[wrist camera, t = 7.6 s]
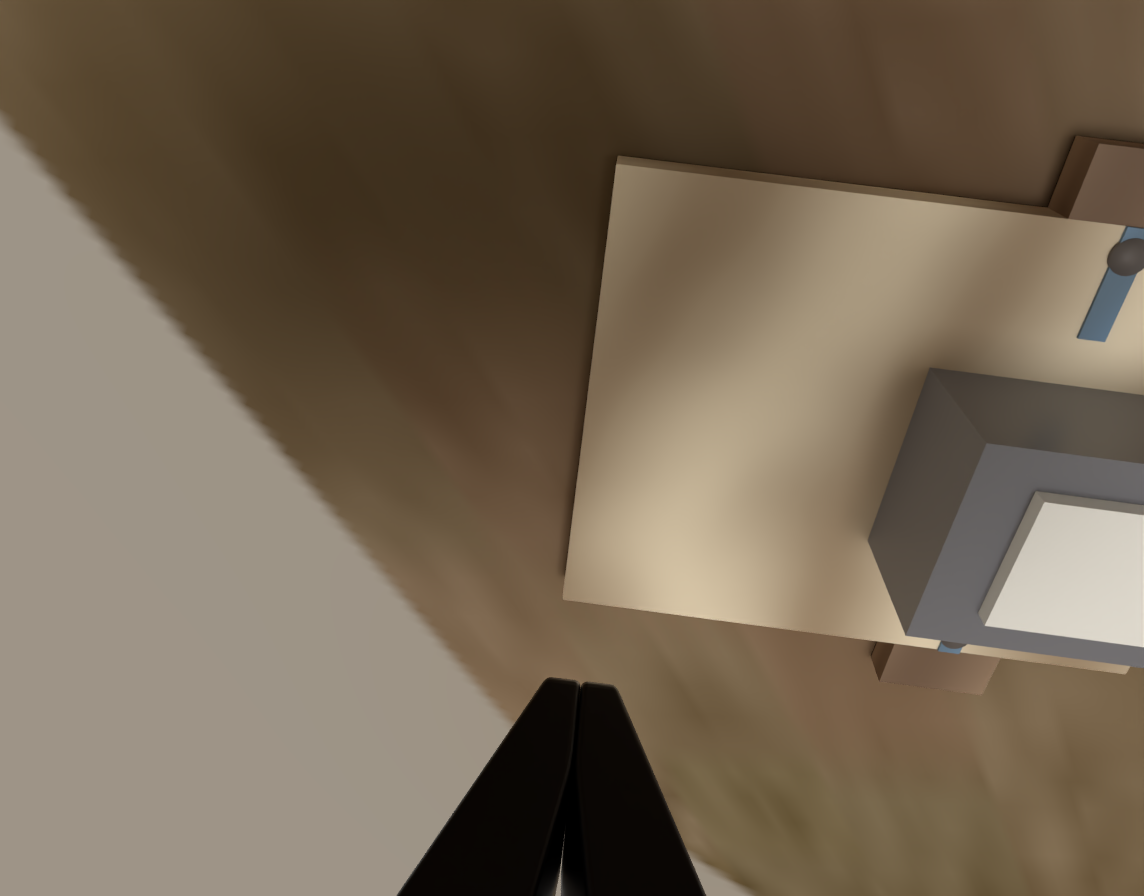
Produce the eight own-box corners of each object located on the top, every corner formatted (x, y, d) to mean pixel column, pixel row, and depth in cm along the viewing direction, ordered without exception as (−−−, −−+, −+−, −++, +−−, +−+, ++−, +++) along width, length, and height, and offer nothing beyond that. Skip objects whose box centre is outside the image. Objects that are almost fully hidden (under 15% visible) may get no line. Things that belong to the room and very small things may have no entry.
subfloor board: (1388, 173, 17) (1435, 184, 16) (1086, 685, 24) (1104, 714, 23) (627, 81, 17) (625, 87, 16) (560, 615, 25) (557, 641, 24)
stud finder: (1233, 406, 19) (1368, 502, 15) (1134, 576, 21) (1231, 692, 18) (929, 367, 19) (994, 453, 15) (867, 540, 21) (910, 648, 18)
